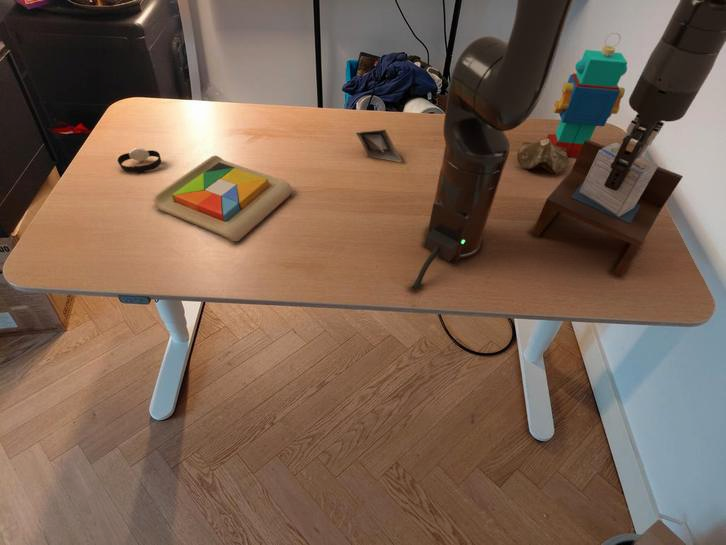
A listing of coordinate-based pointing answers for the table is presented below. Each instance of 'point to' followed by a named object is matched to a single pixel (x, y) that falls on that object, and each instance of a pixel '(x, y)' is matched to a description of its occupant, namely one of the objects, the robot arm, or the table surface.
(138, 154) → the watch
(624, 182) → the medicine box
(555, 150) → the fossilized seashell
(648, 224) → the wooden toy chair
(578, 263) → the table surface
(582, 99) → the toy robot
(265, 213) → the wooden puzzle
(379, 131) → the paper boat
